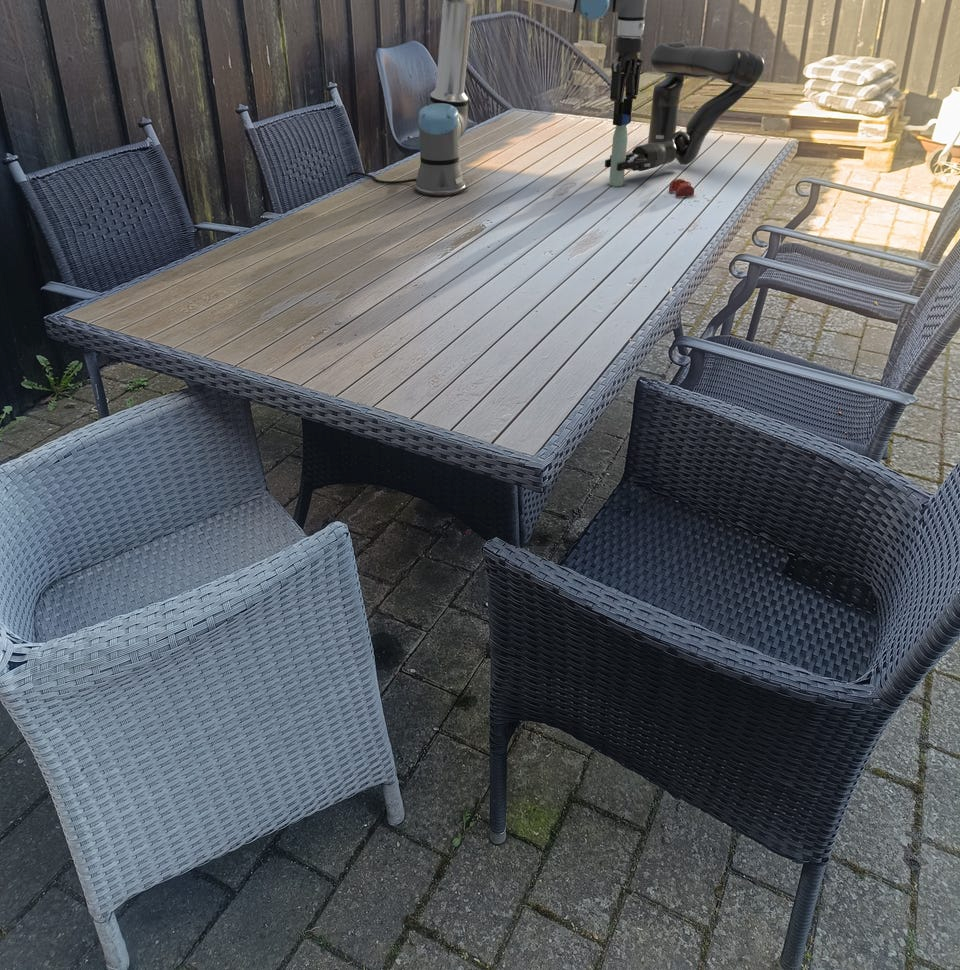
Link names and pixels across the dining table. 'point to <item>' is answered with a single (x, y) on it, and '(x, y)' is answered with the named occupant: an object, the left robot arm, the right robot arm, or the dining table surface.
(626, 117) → the cap
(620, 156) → the bottle
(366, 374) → the dining table surface
